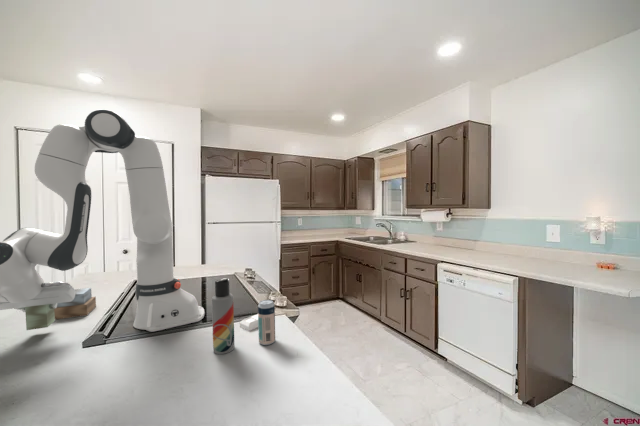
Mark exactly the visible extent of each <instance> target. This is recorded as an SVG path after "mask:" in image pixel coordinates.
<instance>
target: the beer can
mask: <svg viewBox="0 0 640 426" xmlns="http://www.w3.org/2000/svg"><path fill="white" fill-rule="evenodd" d="M275 309H276V308H275V303H274V301H273V300H272V299H263V300H260V301H259V303H258V305H257V314H258V327H257V328H258V343H259V344H260V345H262V346H269V345H272V344H273V343H274V342H276V317H275V316H276V315H275V314H276V313H275V312H276V310H275Z"/></svg>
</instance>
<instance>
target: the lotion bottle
mask: <svg viewBox="0 0 640 426" xmlns="http://www.w3.org/2000/svg"><path fill="white" fill-rule="evenodd" d="M230 285H231V284H230V279H229V278H222V279H219V280H214V295H213V296H212V297H211V317H212V321H211V322H212V347H213V348H212V349H213V353H215V354H217V355H223V354H225V355H226V354H228V353H230V352H232V351H233V350H234V349H235V317H234V316H235V313H234V309H235V308H234V295H233V294H232V293H231V291H230V290H231V289H230Z"/></svg>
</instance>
